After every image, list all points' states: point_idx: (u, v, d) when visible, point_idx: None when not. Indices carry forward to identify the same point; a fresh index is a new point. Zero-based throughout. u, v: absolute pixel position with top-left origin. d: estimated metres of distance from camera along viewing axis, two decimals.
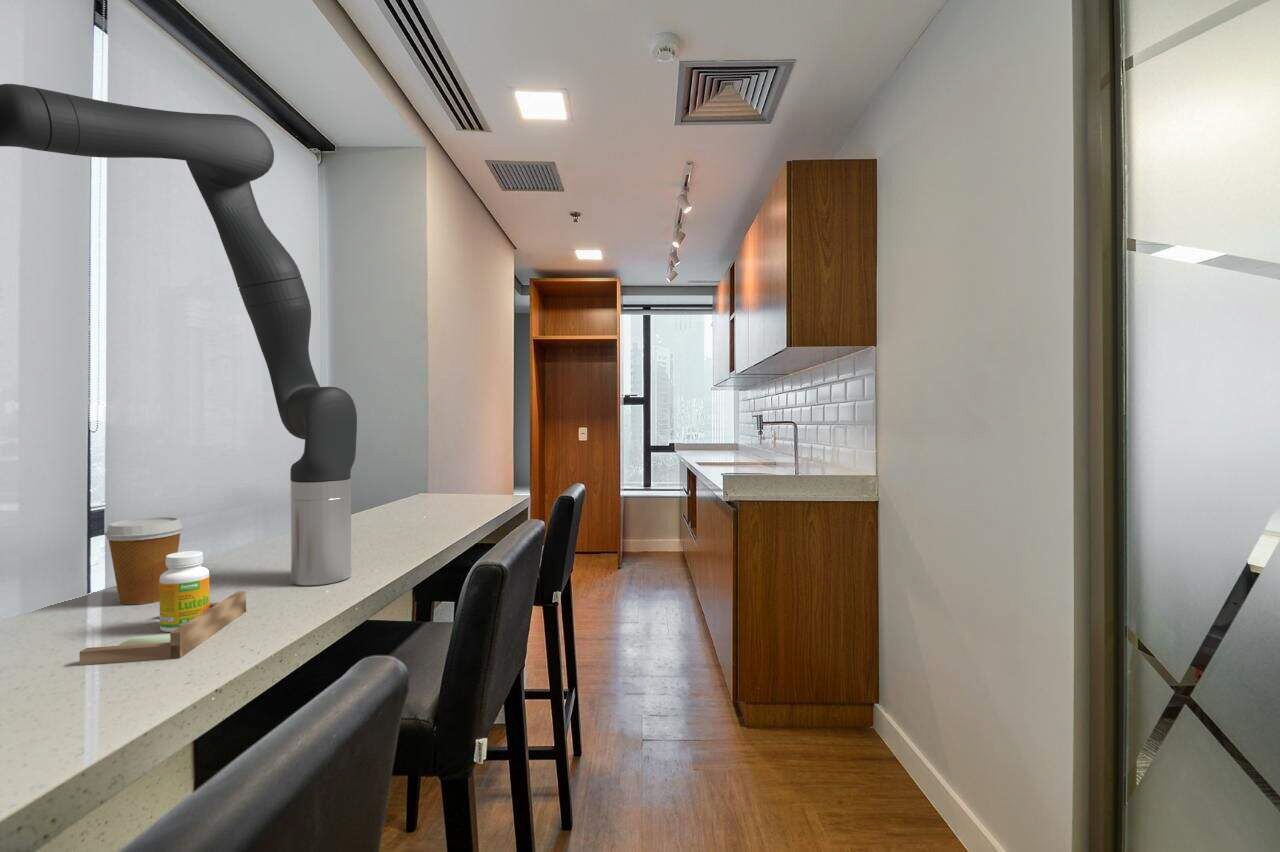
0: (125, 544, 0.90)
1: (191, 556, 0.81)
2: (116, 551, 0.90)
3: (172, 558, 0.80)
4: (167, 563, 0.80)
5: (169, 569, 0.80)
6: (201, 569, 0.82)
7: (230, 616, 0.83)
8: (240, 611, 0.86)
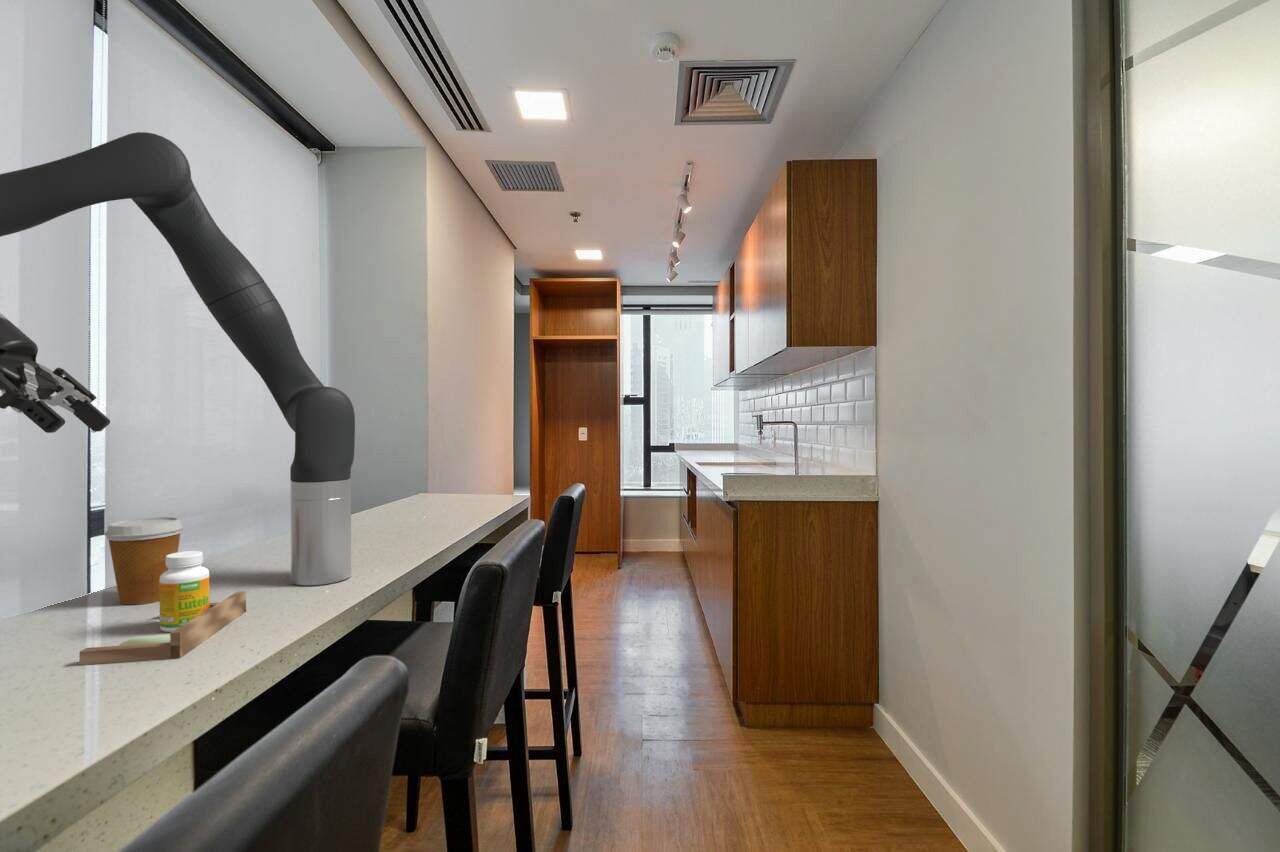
0: (125, 544, 0.90)
1: (191, 556, 0.81)
2: (116, 551, 0.90)
3: (172, 558, 0.80)
4: (167, 563, 0.80)
5: (169, 569, 0.80)
6: (201, 569, 0.82)
7: (230, 616, 0.83)
8: (240, 611, 0.86)
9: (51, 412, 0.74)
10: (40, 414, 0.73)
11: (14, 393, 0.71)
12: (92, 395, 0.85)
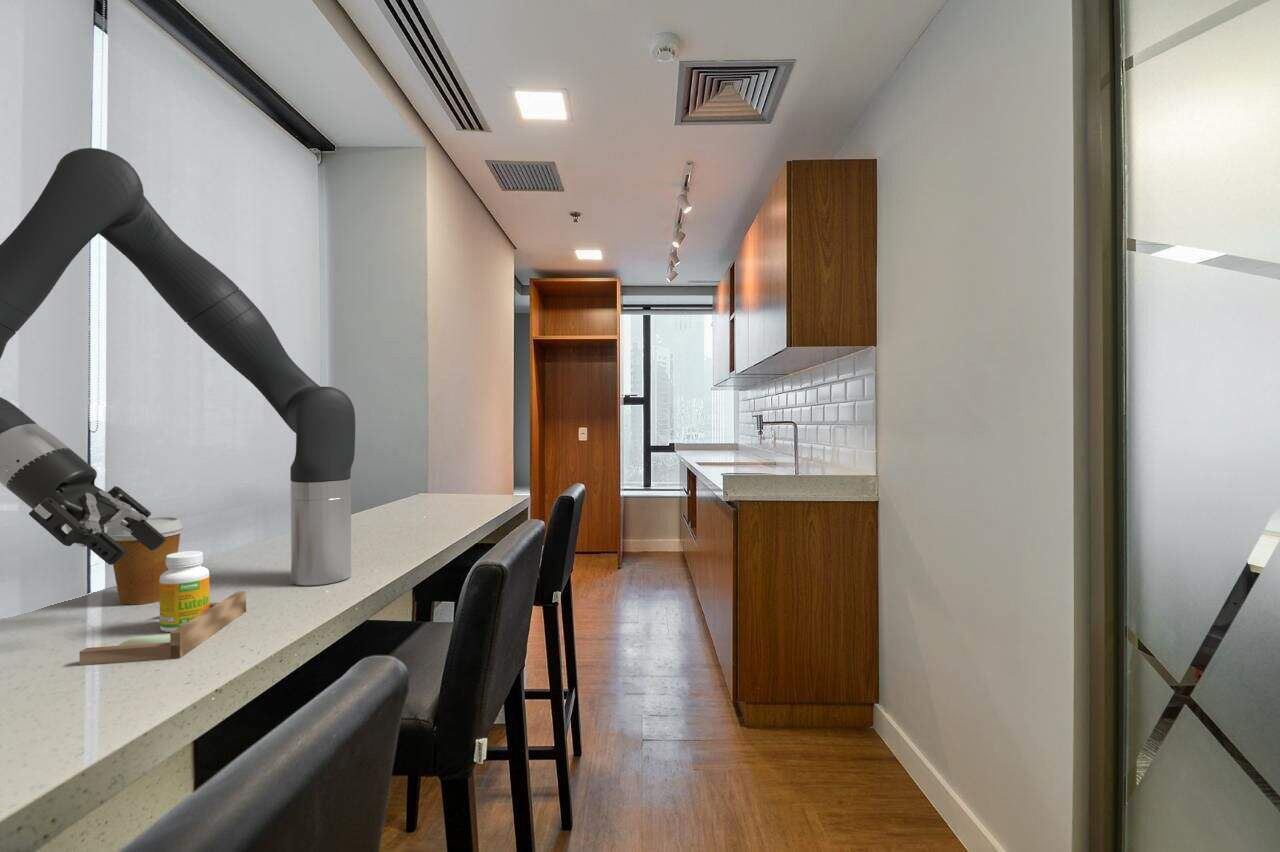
0: (125, 544, 0.90)
1: (191, 556, 0.81)
2: None
3: (172, 558, 0.80)
4: (167, 563, 0.80)
5: (169, 569, 0.80)
6: (201, 569, 0.82)
7: (230, 616, 0.83)
8: (240, 611, 0.86)
9: (114, 544, 0.76)
10: (104, 548, 0.75)
11: (80, 531, 0.73)
12: (147, 512, 0.86)
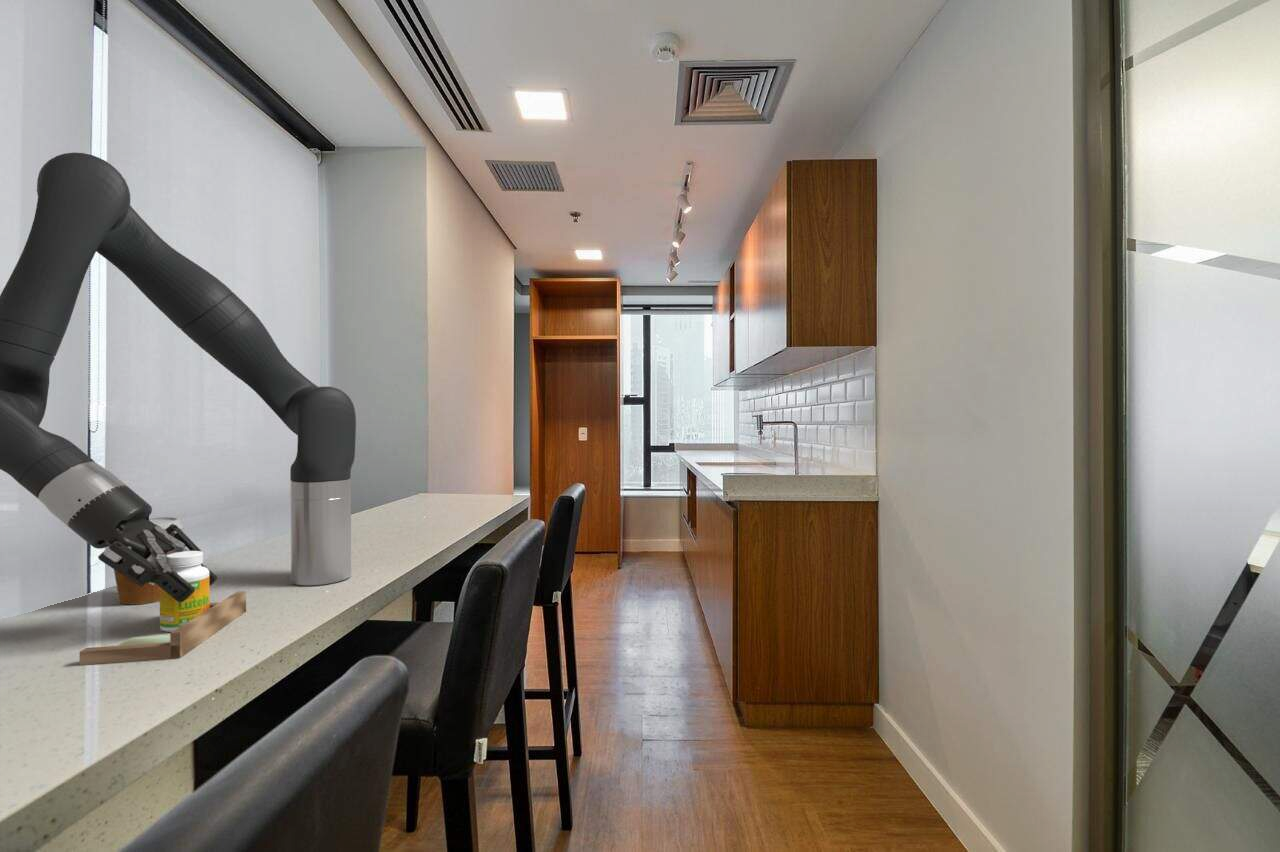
0: None
1: (191, 556, 0.81)
2: None
3: (172, 558, 0.80)
4: (167, 563, 0.80)
5: None
6: (201, 569, 0.82)
7: (230, 616, 0.83)
8: (240, 611, 0.86)
9: (183, 582, 0.79)
10: (174, 586, 0.78)
11: (153, 571, 0.76)
12: (198, 550, 0.86)
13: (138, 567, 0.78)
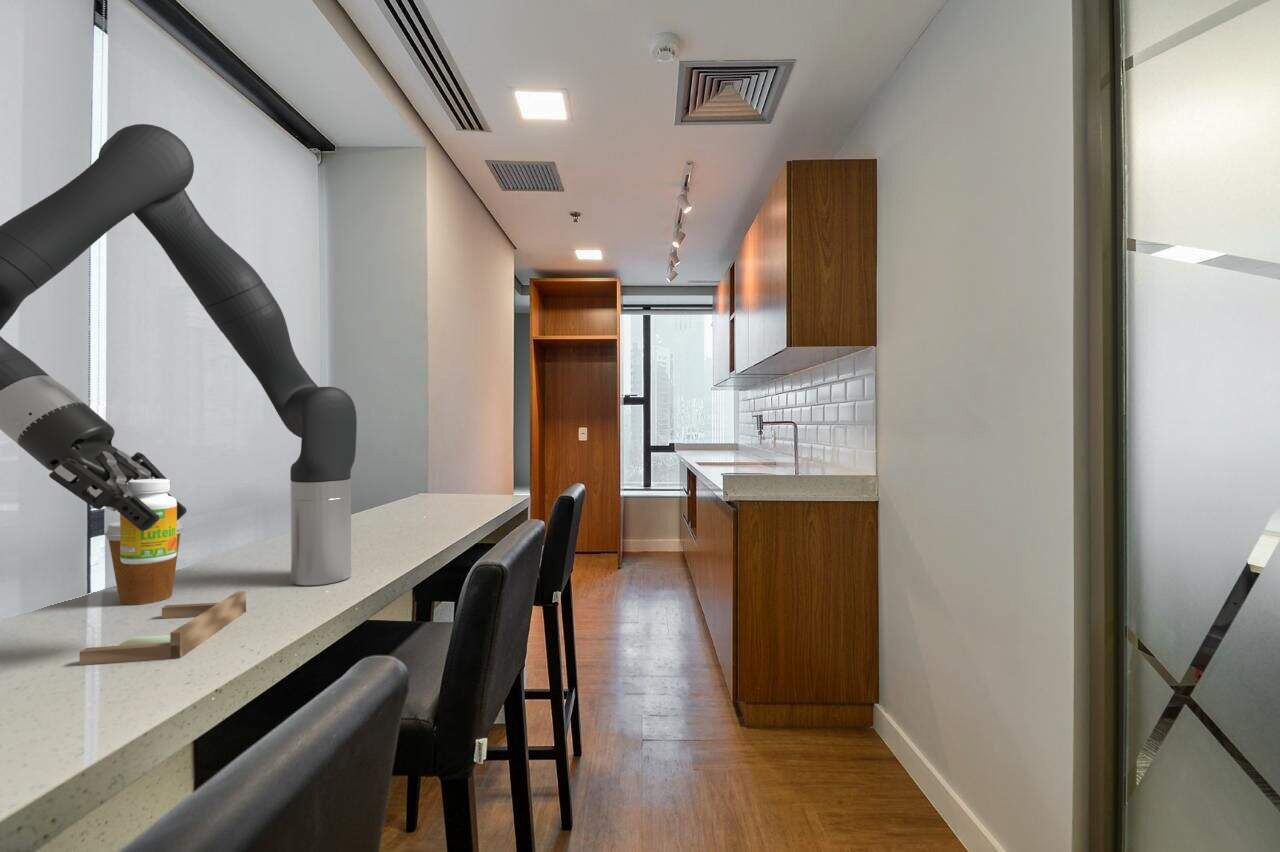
0: None
1: (156, 482, 0.73)
2: (116, 551, 0.90)
3: (134, 483, 0.72)
4: (129, 488, 0.72)
5: None
6: (167, 497, 0.74)
7: (230, 616, 0.83)
8: (240, 611, 0.86)
9: (146, 509, 0.71)
10: (136, 512, 0.70)
11: (111, 493, 0.68)
12: None
13: (96, 491, 0.70)
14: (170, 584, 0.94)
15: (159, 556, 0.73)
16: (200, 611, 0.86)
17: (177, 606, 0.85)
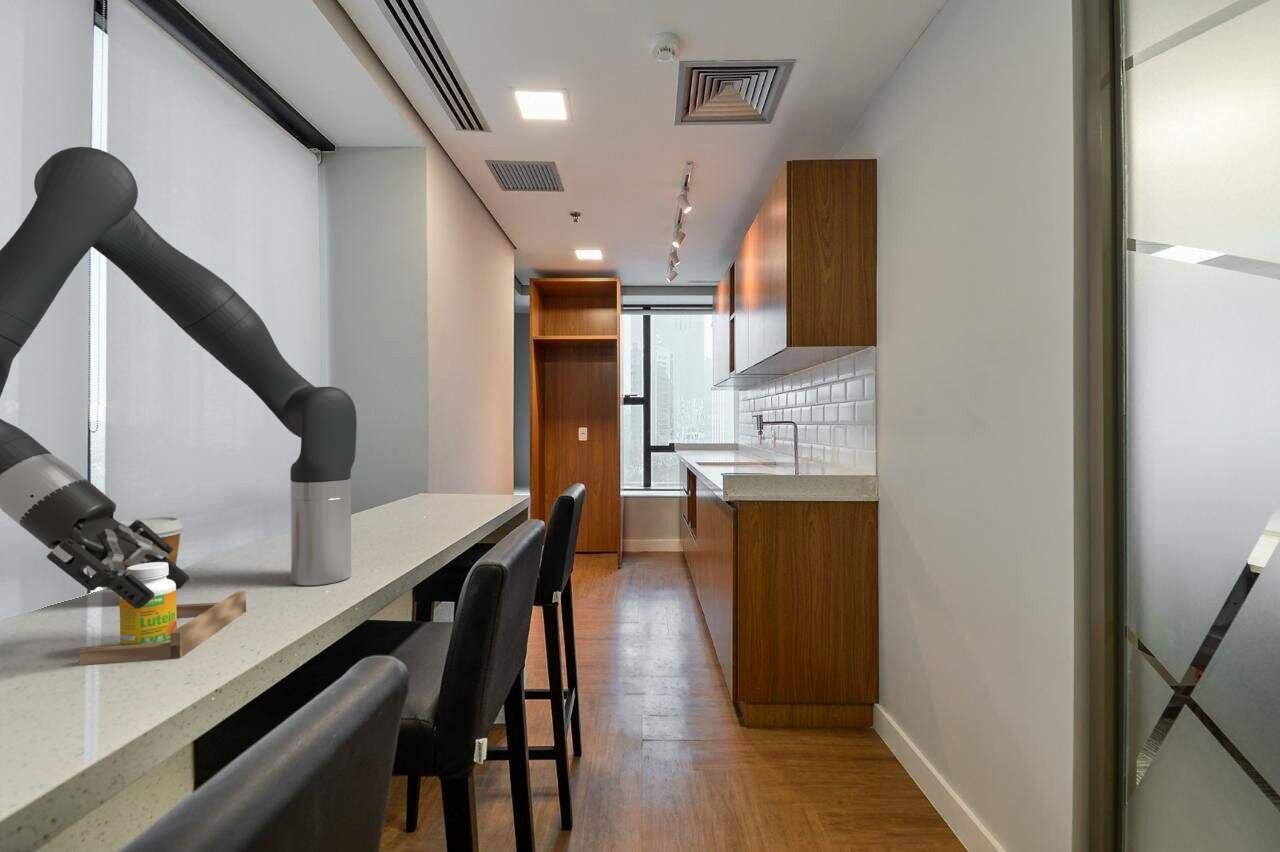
0: None
1: (154, 568, 0.73)
2: None
3: (133, 570, 0.72)
4: None
5: None
6: (166, 582, 0.74)
7: (230, 616, 0.83)
8: (240, 611, 0.86)
9: (140, 587, 0.70)
10: (130, 591, 0.70)
11: (105, 574, 0.68)
12: (169, 548, 0.80)
13: (93, 569, 0.70)
14: None
15: (159, 642, 0.73)
16: (200, 611, 0.86)
17: (177, 606, 0.85)
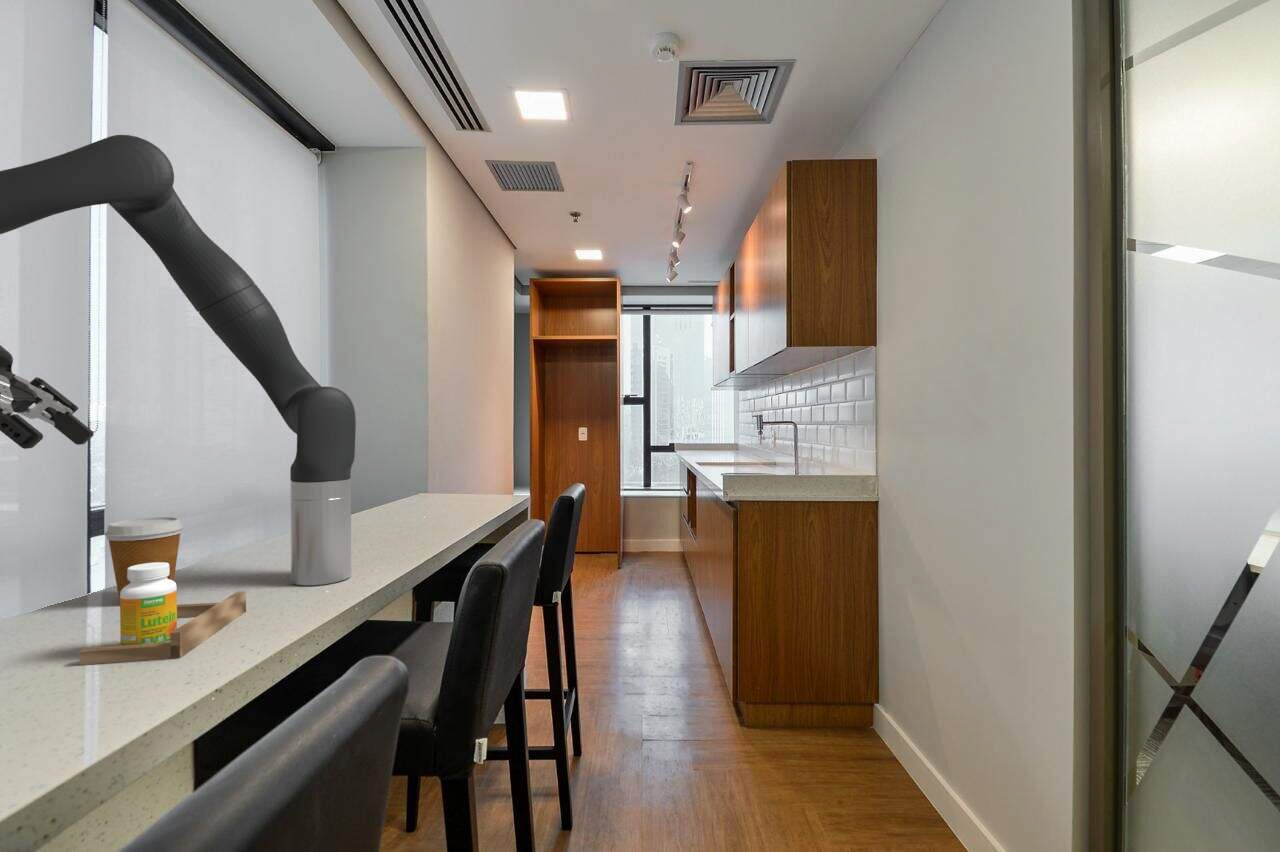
0: (125, 544, 0.90)
1: (156, 568, 0.73)
2: (116, 551, 0.90)
3: (134, 570, 0.72)
4: (129, 576, 0.72)
5: (131, 583, 0.73)
6: (167, 583, 0.74)
7: (230, 616, 0.83)
8: (240, 611, 0.86)
9: (27, 426, 0.70)
10: (16, 429, 0.69)
11: None
12: (74, 406, 0.80)
13: None
14: None
15: (159, 642, 0.73)
16: (200, 611, 0.86)
17: (177, 606, 0.85)
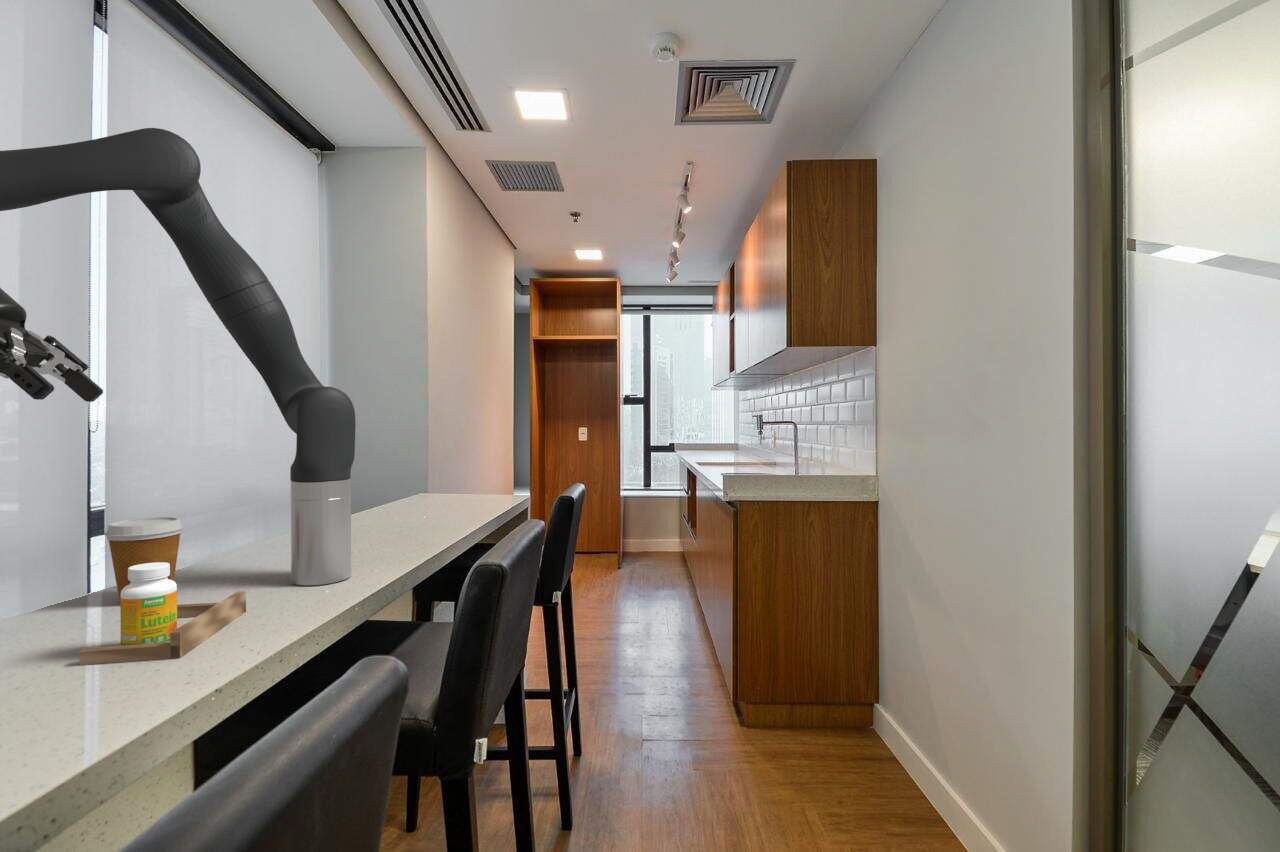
0: (125, 544, 0.90)
1: (156, 568, 0.73)
2: (116, 551, 0.90)
3: (135, 570, 0.72)
4: (129, 576, 0.72)
5: (131, 583, 0.73)
6: (167, 583, 0.74)
7: (230, 616, 0.83)
8: (240, 611, 0.86)
9: (39, 378, 0.71)
10: (28, 379, 0.70)
11: None
12: (84, 364, 0.81)
13: None
14: None
15: (159, 642, 0.73)
16: (200, 611, 0.86)
17: (177, 606, 0.85)
